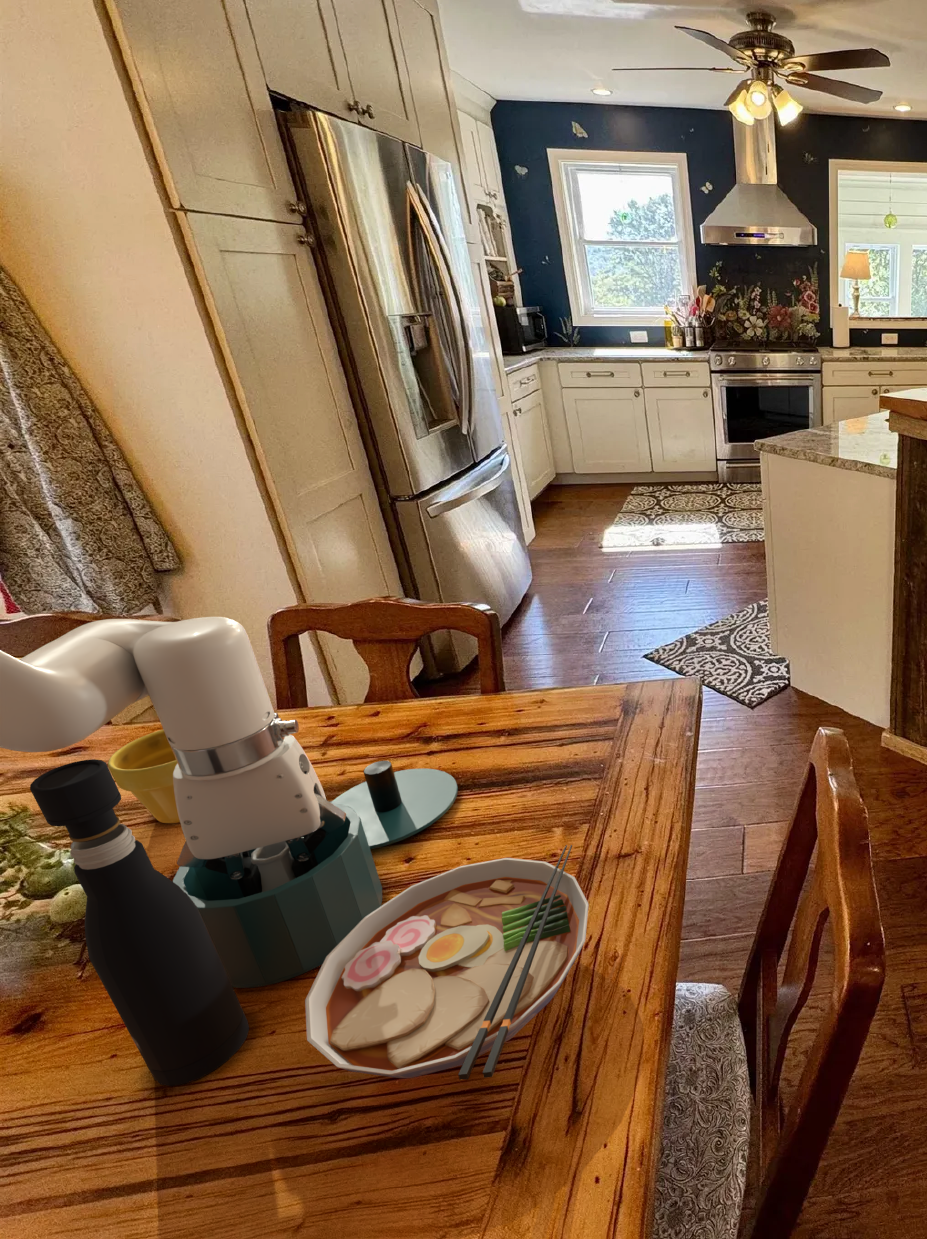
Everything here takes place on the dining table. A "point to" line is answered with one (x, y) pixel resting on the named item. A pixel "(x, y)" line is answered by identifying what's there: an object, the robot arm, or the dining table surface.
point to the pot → (288, 909)
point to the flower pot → (148, 774)
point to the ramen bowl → (448, 969)
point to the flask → (274, 865)
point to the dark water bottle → (143, 933)
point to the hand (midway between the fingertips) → (285, 889)
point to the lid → (399, 801)
